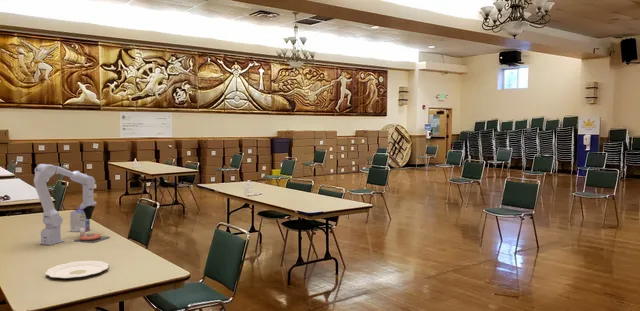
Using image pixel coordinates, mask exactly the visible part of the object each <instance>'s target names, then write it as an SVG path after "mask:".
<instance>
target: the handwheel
mask: <svg viewBox="0 0 640 311" xmlns="http://www.w3.org/2000/svg"><path fill="white" fill-rule="evenodd" d="M85 233H86V232H85V231H84V228H80V232H79V236H78V239H80V240H94V239H98V238H101V236H102V234H100V233H87V234H85Z"/></svg>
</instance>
